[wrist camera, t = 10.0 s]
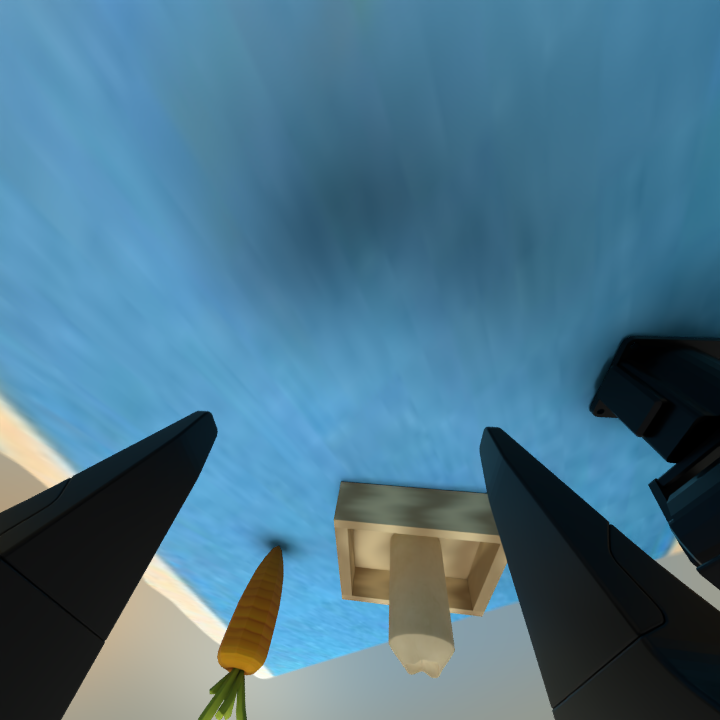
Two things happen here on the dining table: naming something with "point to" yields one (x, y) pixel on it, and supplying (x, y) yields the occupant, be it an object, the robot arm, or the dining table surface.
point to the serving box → (423, 518)
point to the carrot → (247, 637)
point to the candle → (419, 605)
